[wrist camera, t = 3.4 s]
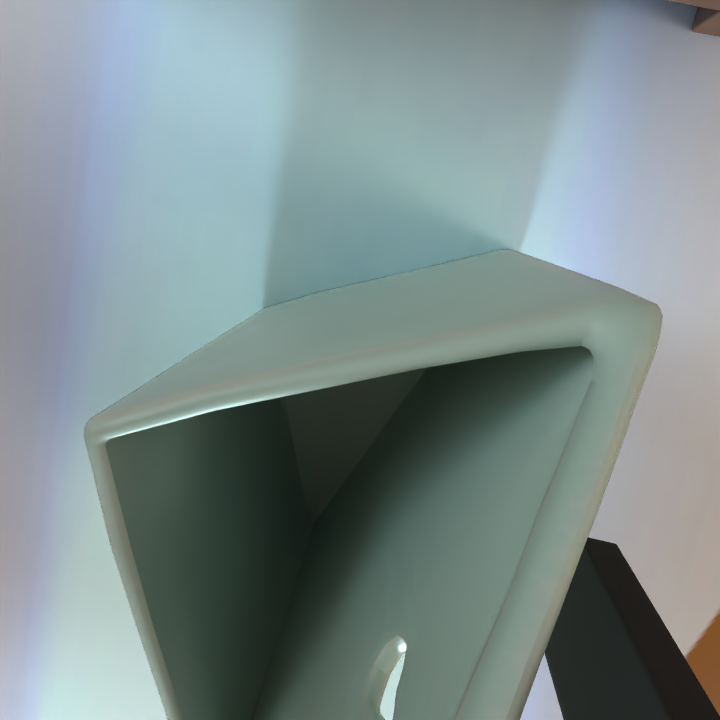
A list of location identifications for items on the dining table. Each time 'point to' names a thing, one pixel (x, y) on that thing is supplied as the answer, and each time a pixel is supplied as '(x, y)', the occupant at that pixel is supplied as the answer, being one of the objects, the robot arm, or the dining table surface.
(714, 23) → the shelf
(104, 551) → the dining table surface
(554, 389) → the planter
